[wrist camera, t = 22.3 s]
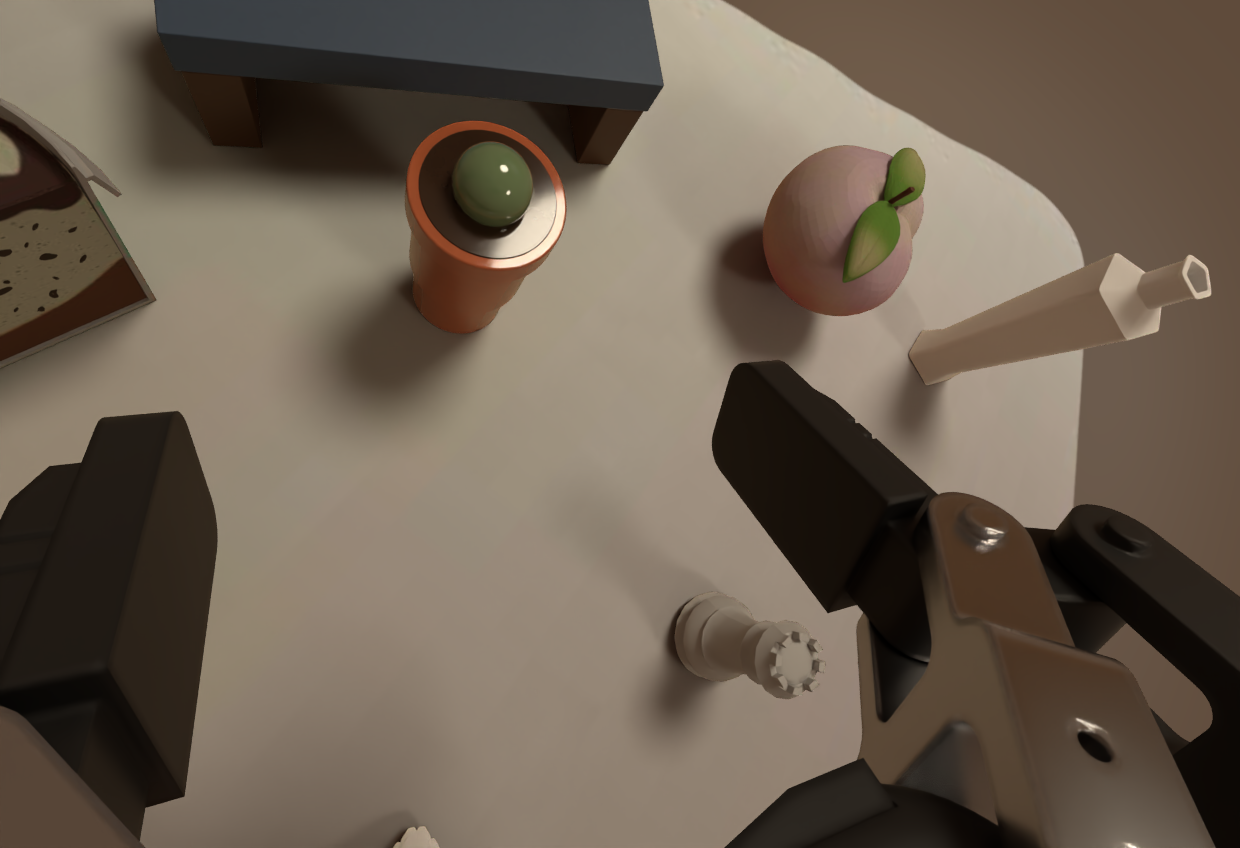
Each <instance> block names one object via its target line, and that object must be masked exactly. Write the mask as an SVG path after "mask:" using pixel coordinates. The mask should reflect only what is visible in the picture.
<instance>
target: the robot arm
mask: <svg viewBox="0 0 1240 848" xmlns="http://www.w3.org/2000/svg"><path fill="white" fill-rule="evenodd" d="M712 451H713V456H714V459H715V462H716V464H717V466H718V468H719V470H720V471H721V472H722V474H723V475H724V476H725V478H726V479H727V480H728V482H729V483H730V484H731V486H732V487H733V488H734V490H735V491H736V492H737V494H738V495H739V496H740V497H741V499H742V500H743V501H744V503H745V504H746V505H747V507H748V508H749V509H750V511H751V512H752V513H753V515H754V516H755V517H756V519H757V520H758V521H759V523H760V524H761V525H762V527H763V528H764V529H765V531H766V532H767V533H768V535H769V536H770V537H771V539H772V540H773V541H774V543H775V544H776V545H777V547H778V548H779V549H780V550H781V552H782V553H783V554H784V556H785V557H786V558H787V560H788V561H789V562H790V564H791V565H792V566H793V568H794V569H795V570H796V572H797V573H798V574H799V576H800V577H801V578H802V580H803V581H804V582H805V584H806V585H807V586H808V588H809V589H810V590H811V592H812V593H813V594H814V596H815V597H816V598H817V599H818V601H819V602H820V603H821V605H822V606H823V607H824V609H825V610H826V611H827V613H830V612H833V611H837V610H840V609H844V608H847V607H851V606H854V605H858V607H859V608H860V609H861V610H862V611H863V614H862V616H861V617H860V619H859V621H858V623H857V629H856V634H857V651H858V668H859V685H860V702H861V719H862V741H861V747H860V752H859V755H858V758H857V760H856V761H854V762H852V763H849V764H847V765H844V766H842V767H840V768H837V769H835V770H832V771H830V772H828V773H825V774H823V775H820V776H818V777H815V778H813V779H811V780H808V781H806V782H803V783H801V784H799V785H796V786H794V787H791V788H789V789H787V790H786V791H785V792H784V793H783V794H782V795H781V796H780V797H779V798H778V799H777V800H776V801H774V802H773V803H772V804H771V805H770V806H769V807H768V808H767V809H766V810H765V811H764V812H763V813H761V814H760V815H759V816H758V817H757V818H756V819H755V820H754V821H753V822H752V823H751V824H750V825H748V826H747V827H746V828H745V829H744V830H743V831H742V832H741V833H740V834H739V835H738V836H737V837H735V838H734V839H733V840H732V841H731V842H730V843H729V844H728V845H727V846H726V847H725V848H1240V597H1239V596H1238V595H1237V594H1235V593H1234V592H1233V591H1231V590H1230V589H1229V588H1227V587H1226V586H1225V585H1223V584H1222V583H1221V582H1220V581H1218V580H1217V579H1216V578H1214V577H1213V576H1211V575H1210V574H1209V573H1208V572H1206V571H1205V570H1204V569H1203V568H1201V567H1200V566H1199V565H1197V564H1196V563H1195V562H1193V561H1192V560H1191V559H1189V558H1188V557H1187V556H1185V555H1184V554H1183V553H1181V552H1180V551H1179V550H1178V549H1176V548H1175V547H1174V546H1172V545H1171V544H1170V543H1168V542H1167V541H1166V540H1164V539H1163V538H1162V537H1160V536H1159V535H1158V534H1157V533H1155V532H1154V531H1152V530H1151V529H1149V528H1148V527H1147V526H1145V525H1144V524H1142V523H1140V522H1138V521H1137V520H1135V519H1133V518H1131V517H1129V516H1127V515H1125V514H1123V513H1121V512H1118V511H1115V510H1113V509H1110V508H1106V507H1102V506H1097V505H1088V504H1086V505H1079V506H1076V507H1074V508H1073V509H1072V510H1071V511H1070V513H1069V514H1068V515H1067V516H1066V518H1065V519H1064V520H1063V521H1062V523H1061V524H1060V525H1059V526H1058V528H1057V529H1056V530H1050V529H1038V528H1026V527H1023V526H1022V525H1021V524H1020V523H1019V522H1018V521H1017V520H1016V519H1015V518H1014V517H1013V516H1011V515H1010V514H1009V513H1007V512H1006V511H1004V510H1003V509H1001V508H1000V507H998V506H996V505H994V504H992V503H990V502H988V501H986V500H984V499H981V498H979V497H976V496H973V495H969V494H964V493H958V492H947V493H941V494H939V495H938V494H937V493H936V492H935V491H934V490H932V489H931V488H930V487H929V486H928V485H927V484H926V483H925V482H924V481H923V480H921V479H920V478H919V477H918V476H917V475H916V474H915V473H914V472H913V471H912V470H910V469H909V468H908V467H907V466H906V465H905V464H904V463H903V462H902V461H901V460H899V459H898V458H897V457H896V456H895V455H894V454H893V453H892V452H891V451H890V450H888V449H887V448H886V447H885V446H884V445H883V444H882V443H881V442H880V441H879V440H877V439H872V434H871V433H870V432H869V431H868V430H866V429H865V428H864V427H863V426H862V425H861V424H860V423H855V419H854V418H853V417H852V416H851V415H850V414H849V413H848V412H847V411H846V410H844V409H843V408H842V407H841V406H840V405H839V404H838V403H837V402H836V401H835V400H833V399H831V398H829V397H827V396H826V395H824V394H822V393H820V392H819V391H817V390H815V389H814V388H812V387H811V386H810V385H809V384H808V383H807V382H806V381H805V380H804V379H803V378H802V377H801V376H799V375H798V374H797V373H796V372H795V371H794V370H793V369H792V368H791V367H790V366H789V365H788V364H786V363H785V362H783V361H781V360H772V361H761V362H749V363H740V364H738V365H737V366H736V367H735V368H734V369H733V371H732V373H731V375H730V378H729V381H728V385H727V388H726V391H725V395H724V398H723V402H722V405H721V408H720V412H719V415H718V418H717V422H716V425H715V429H714V432H713V436H712ZM216 554H217V523H216V515H215V510H214V505H213V502H212V498H211V495H210V492H209V489H208V486H207V483H206V480H205V477H204V474H203V471H202V468H201V465H200V462H199V459H198V456H197V453H196V450H195V447H194V444H193V441H192V438H191V435H190V432H189V429H188V426H187V423H186V421H185V419H184V417H183V416H182V414H181V413H180V412H178V411H173V412H162V413H150V414H139V415H127V416H116V417H104V418H102V419H100V420H99V421H98V423H97V425H96V427H95V430H94V432H93V435H92V437H91V440H90V442H89V445H88V447H87V450H86V452H85V455H84V457H83V460H82V462H81V463H74V464H65V465H56V466H49V467H48V468H47V469H46V470H44V471H43V472H42V473H41V474H40V475H39V476H38V477H36V478H35V479H34V480H33V481H32V482H31V483H29V484H28V485H27V486H26V487H25V488H24V489H23V490H21V491H20V492H19V493H18V494H17V495H16V496H14V497H13V498H12V499H11V500H10V501H9V503H8V505H7V507H6V509H5V511H4V513H3V515H2V517H1V519H0V848H145V847H144V846H143V845H142V844H141V843H140V842H139V841H140V836H141V830H142V824H143V818H144V813H145V808H146V807H150V806H153V805H157V804H160V803H164V802H167V801H171V800H174V799H178V798H181V797H184V796H185V789H186V781H187V773H188V766H189V758H190V751H191V743H192V736H193V728H194V720H195V713H196V705H197V698H198V690H199V682H200V675H201V667H202V660H203V652H204V645H205V637H206V629H207V622H208V614H209V607H210V599H211V591H212V584H213V576H214V569H215V561H216ZM1126 623H1128V625H1130V626H1131V627H1132V628H1133V629H1134V630H1135V631H1136V632H1137V633H1138V634H1140V635H1141V636H1142V637H1143V638H1144V639H1145V640H1146V641H1147V642H1148V643H1150V644H1151V645H1152V646H1153V647H1154V648H1155V649H1156V650H1157V651H1158V652H1159V653H1160V654H1162V655H1163V656H1164V657H1165V658H1166V659H1167V660H1168V661H1169V662H1170V663H1172V664H1173V665H1174V666H1175V667H1176V668H1177V669H1178V670H1179V671H1180V672H1181V673H1183V674H1184V675H1185V676H1186V677H1187V678H1188V679H1189V680H1190V681H1191V682H1193V683H1194V684H1195V685H1196V686H1197V687H1198V688H1199V689H1200V690H1201V691H1202V692H1203V694H1204V695H1205V696H1206V698H1207V700H1208V701H1209V703H1210V706H1211V708H1212V713H1213V720H1212V724H1211V726H1210V728H1209V729H1208V730H1206V731H1205V732H1204V733H1202V734H1201V735H1200V736H1198V737H1197V738H1196V739H1194V740H1193V741H1192V742H1188V741H1186V740H1185V739H1183V738H1182V737H1180V736H1179V735H1177V734H1176V733H1175V732H1174V731H1173V730H1172V729H1171V728H1170V727H1169V726H1168V725H1167V724H1166V723H1165V722H1164V721H1163V720H1162V719H1161V718H1160V717H1159V716H1158V715H1157V714H1156V713H1155V712H1154V711H1153V710H1152V709H1151V708H1150V707H1149V706H1148V704H1147V702H1146V700H1145V697H1144V695H1143V693H1142V691H1141V689H1140V687H1139V685H1138V683H1137V681H1136V679H1135V677H1134V676H1133V674H1132V673H1131V672H1130V670H1129V669H1128V668H1127V667H1126V666H1125V665H1124V664H1123V663H1121V662H1119V661H1118V660H1116V659H1113V658H1110V657H1107V656H1103V655H1100V654H1097V653H1096V652H1097V651H1098V650H1099V649H1100V648H1101V647H1102V646H1103V645H1104V644H1105V643H1106V642H1107V641H1108V640H1109V639H1110V638H1111V637H1112V636H1113V635H1114V634H1115V633H1117V632H1118V631H1119V630H1120V628H1121V627H1123V626H1124V625H1125V624H1126Z"/></svg>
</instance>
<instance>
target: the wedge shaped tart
mask: <svg viewBox="0 0 1240 848" xmlns="http://www.w3.org/2000/svg"><path fill="white" fill-rule="evenodd" d="M90 180H93V181H94V182H96V183H97V184H99V185H100V186H102V187H103V188H105V189H106V190H108V191H109V192H111V193H112V194H114V195H115V196H117V197H118V196H120V195H122V194H121V192H120V191H119V190H118V189H117V188H116V187H115V185H114V184H113V183H112V182H111V181H110V180H109V178H108V177H107V176H106V175H105V174H104V173H103V171H102V170H101V169H99V168H98V167H97V166H96V165H95V164H94V163H93V162H91V161H90V160H89V159H88V158H87V157H86V156H85V155H84V154H82V153H81V152H80V151H79V150H78V149H77V148H76V147H74V146H73V145H71V144H70V143H69V142H67V141H66V140H64V139H63V138H62V137H60V136H59V135H57V134H56V133H55V132H53V131H52V130H50V129H49V128H48V127H46V126H45V125H43V124H42V123H40V122H39V121H37V120H36V119H34V118H33V117H31V116H30V115H28V114H27V113H25V112H24V111H22V110H21V109H19V108H18V107H16V106H15V105H13V104H11V103H9V102H7V101H5V100H3V99H1V98H0V368H2V367H4V366H7V365H9V364H11V363H13V362H16V361H18V360H20V359H22V358H25V357H27V356H29V355H32V354H34V353H36V352H38V351H41V350H43V349H45V348H48V347H50V346H52V345H54V344H57V343H59V342H61V341H63V340H66V339H68V338H70V337H73V336H75V335H77V334H79V333H82V332H84V331H86V330H89V329H91V328H93V327H95V326H98V325H100V324H102V323H104V322H107V321H109V320H111V319H114V318H116V317H118V316H120V315H123V314H125V313H127V312H130V311H132V310H134V309H136V308H139V307H141V306H143V305H145V304H148V303H150V302H152V301H155V300H156V298H155V297H154V295H153V293H152V291H151V290H150V288H149V286H148V285H147V283H146V281H145V279H144V278H143V276H142V274H141V273H140V271H139V269H138V267H137V266H136V264H135V262H134V261H133V259H132V257H131V255H130V254H129V252H128V250H127V249H126V247H125V245H124V244H123V242H122V240H121V238H120V237H119V235H118V233H117V232H116V230H115V228H114V226H113V225H112V223H111V221H110V220H109V218H108V216H107V214H106V213H105V211H104V209H103V208H102V206H101V204H100V202H99V201H98V199H97V197H96V196H95V194H94V192H93V191H92V189H91V187H90V185H89V184H88V182H87V181H90Z"/></svg>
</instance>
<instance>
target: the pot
mask: <svg viewBox="0 0 1240 848" xmlns="http://www.w3.org/2000/svg"><path fill="white" fill-rule="evenodd" d="M405 210H406V217H407V220H408V223H409V226H410V229H411V241H410V250H409V258H410V265H411V268H412V272H413V274H414V276H413V284H412V292H413V297H414V301H415V303H416V306H417V308H418V309H419V311H420V313H421V314H422V315H423V316H424V317H425V318H426V319H427V320H428V321H429V322H430V323H431V324H433V325H434V326H436V327H438V328H440V329H442V330H444V331H448V332H452V333H461V334H463V333H471V332H475V331H478V330H480V329H482V328H484V327H485V326H487V325H488V324H489V323H490V322H491V321H492V320H493V319H494V318H495V316H496V315H497V313H498V311H499V309H500V307H502V306H503V305H504V304H506V303H507V302H508V301H509V300H510V299H512V297H513V296H514V295H515V294H516V292H517V290H518V289H519V287H520V285H521V284H522V282H523V280H524V278H525V277H526V276H527V275H529V274H530V273H532V272H533V271H535V270H536V269H537V268H538V267H539V266H540V265H541V264H542V263H543V262H544V261H545V260H546V258H547V257H548V256H549V254H550V252H551V251H552V249H553V248H554V246H555V244H556V243H557V241H558V239H559V238H560V236H561V233H562V231H563V228H564V224H565V220H566V198H565V192H564V188H563V185H562V182H561V179H560V177H559V175H558V173H557V171H556V169H555V168H554V166H553V164H552V163H551V161H550V160H549V159H548V157H547V156H546V155H545V154H544V153H543V152H542V151H541V150H540V149H539V148H538V147H537V146H536V145H535V144H534V143H533V142H531V141H530V140H529V139H527V138H526V137H524V136H523V135H521V134H520V133H518V132H516V131H514V130H512V129H510V128H507V127H505V126H502V125H499V124H495V123H491V122H485V121H462V122H457V123H452V124H449V125H447V126H444V127H442V128H440V129H438V130H436V131H434V132H433V133H432V134H430V135H429V136H428V137H426V138H425V139H424V140H423V141H422V142H421V143H420V145H419V146H418V147H417V149H416V150H415V152H414V154H413V156H412V158H411V160H410V163H409V166H408V169H407V176H406V187H405Z"/></svg>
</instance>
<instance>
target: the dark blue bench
mask: <svg viewBox="0 0 1240 848" xmlns="http://www.w3.org/2000/svg"><path fill="white" fill-rule="evenodd" d="M154 3H155V14H156V24H157V33H158V35H159V37H160V39H161V42H162V44H163V46H164V48H165V51H166V53H167V55H168V57H169V59H170V62H171V64H172V66H173V68H174V70H176V71H181V73H182V75H183V77H184V80H185V82H186V84H187V87H188V89H189V91H190V93H191V96H192V98H193V100H194V102H195V105H196V107H197V109H198V112H199V114H200V116H201V118H202V121H203V123H204V125H205V128H206V130H207V132H208V134H209V137H210V139H211V141H212V144H213V145H217V146H237V147H257V148H262V147H263V146H262V137H261V128H260V119H259V110H258V101H257V92H256V83H255V77H256V78H267V79H279V80H290V81H302V82H313V83H325V84H336V85H348V86H359V87H371V88H382V89H394V90H405V91H417V92H428V93H440V94H452V95H463V96H475V97H486V98H498V99H509V100H521V101H532V102H544V103H555V104H567V105H568V109H569V115H570V121H571V127H572V133H573V139H574V145H575V151H576V158H577V163H585V164H605V165H609V164H610V163H611V162H612V160H613V158H614V157H615V155H616V154H617V152H618V151H619V149H620V147H621V146H622V144H623V143H624V141H625V139H626V138H627V136H628V135H629V133H630V132H631V130H632V128H633V127H634V125H635V124H636V122H637V121H638V119H639V117H640V116H641V114H642V113H643V111H648V110H649V108H650V106H651V105H652V103H653V102H654V100H655V99H656V97H657V96H658V94H659V92H660V91H661V89H662V88H663V86H664V84H663V79H662V73H661V67H660V62H659V56H658V51H657V45H656V40H655V34H654V29H653V23H652V18H651V12H650V7H649V1H648V0H154Z"/></svg>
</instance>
